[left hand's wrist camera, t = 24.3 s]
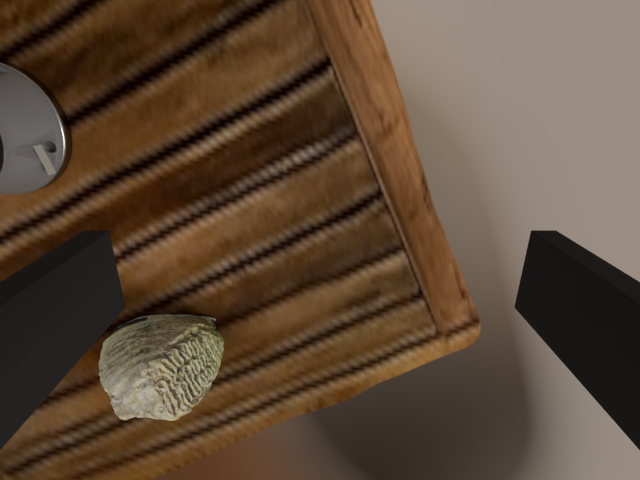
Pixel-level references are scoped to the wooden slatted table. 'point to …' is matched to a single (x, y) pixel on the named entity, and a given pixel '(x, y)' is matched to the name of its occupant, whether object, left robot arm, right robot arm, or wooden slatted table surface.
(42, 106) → the left robot arm
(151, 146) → the wooden slatted table surface
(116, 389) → the fossil
